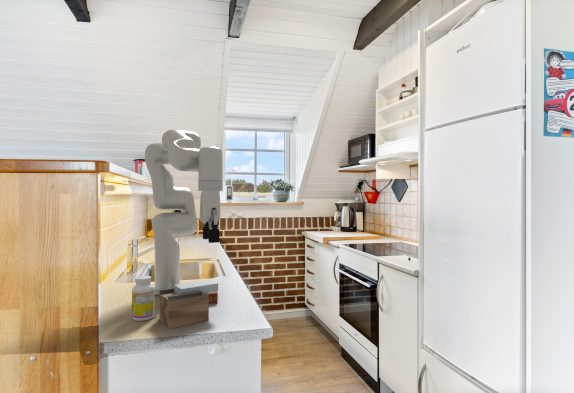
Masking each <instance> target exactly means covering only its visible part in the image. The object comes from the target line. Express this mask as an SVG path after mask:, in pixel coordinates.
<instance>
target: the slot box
mask: <svg viewBox="0 0 574 393" xmlns="http://www.w3.org/2000/svg"><path fill="white" fill-rule="evenodd" d="M159 294H160V295H159V320H160V321H161V322H162V323H163V324H164V325H165V326H166V327H167V328H168V329H169V330H171V329H174V328H175V329H177V328H179V327H185V326H189V324H190V325H194V324H198V322H199V323H202V322H207V321H210V320H209V319H210V318H209V317H210V316H209V314H210V313H209V312H210V311H209V310H210V308H209V306H210V304H209V294H207V293H204V294H202V291H195V292H189V293H183V294H175V293H174V288H168V289H161V290H160V293H159ZM184 325H185V326H184Z"/></svg>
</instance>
